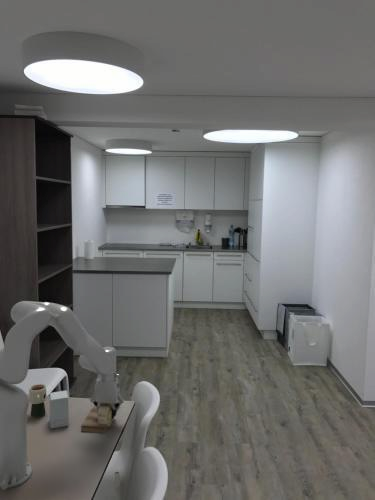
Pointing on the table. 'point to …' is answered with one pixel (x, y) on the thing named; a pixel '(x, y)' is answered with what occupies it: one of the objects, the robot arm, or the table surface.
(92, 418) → the walnut board
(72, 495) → the table surface
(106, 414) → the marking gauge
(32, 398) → the character mug
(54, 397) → the supplement box
